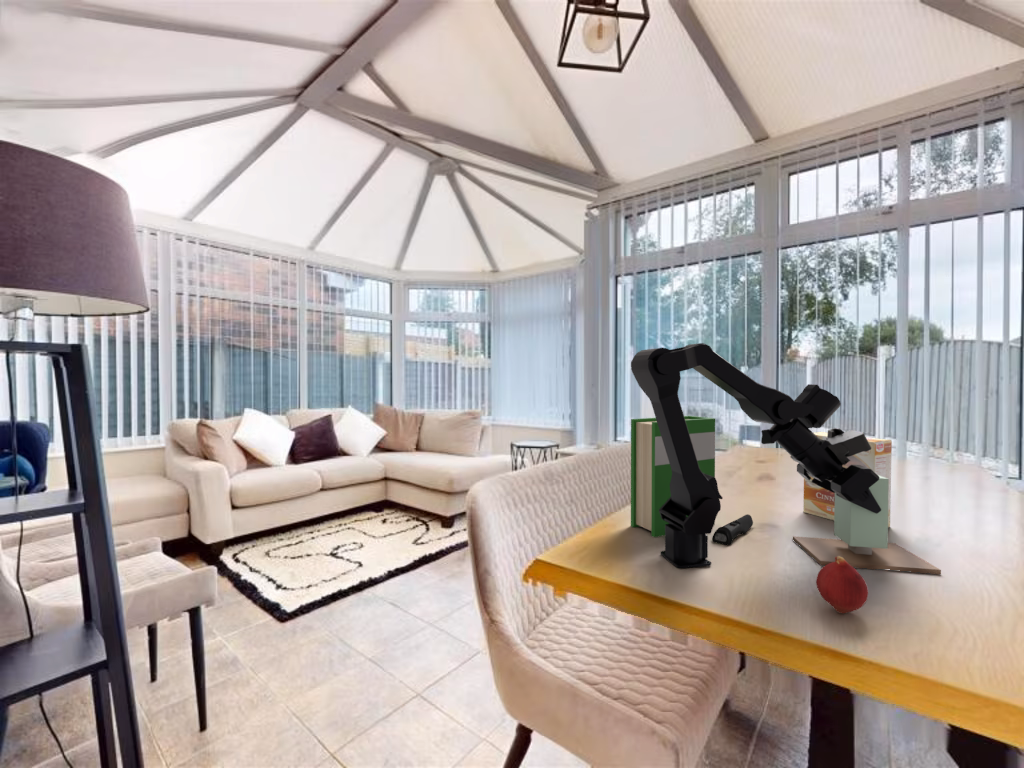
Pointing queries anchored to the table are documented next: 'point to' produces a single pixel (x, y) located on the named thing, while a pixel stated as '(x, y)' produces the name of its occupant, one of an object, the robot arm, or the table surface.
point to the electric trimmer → (732, 530)
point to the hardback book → (662, 467)
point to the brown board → (865, 555)
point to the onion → (842, 586)
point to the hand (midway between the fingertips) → (868, 506)
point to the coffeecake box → (874, 459)
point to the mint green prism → (863, 519)
